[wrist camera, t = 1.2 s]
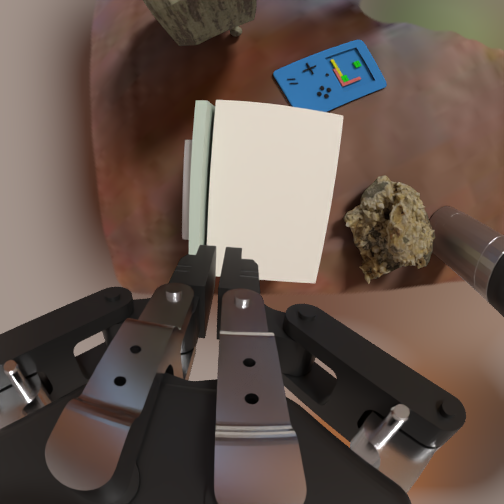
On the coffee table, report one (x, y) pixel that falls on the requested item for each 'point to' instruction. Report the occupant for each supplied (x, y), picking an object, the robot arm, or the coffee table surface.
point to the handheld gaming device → (331, 77)
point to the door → (197, 177)
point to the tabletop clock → (201, 18)
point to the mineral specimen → (390, 228)
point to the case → (272, 186)
